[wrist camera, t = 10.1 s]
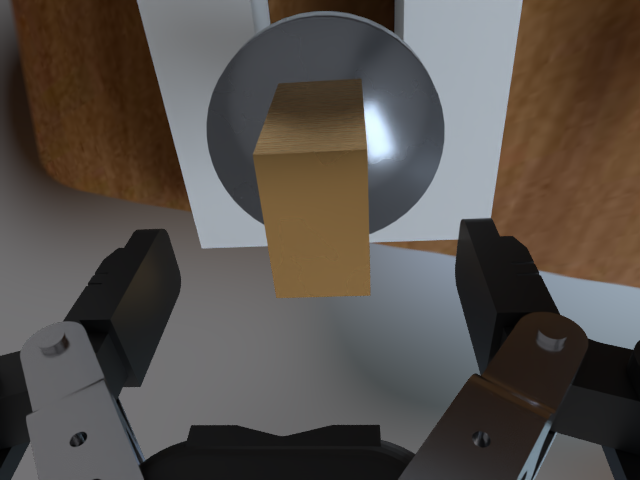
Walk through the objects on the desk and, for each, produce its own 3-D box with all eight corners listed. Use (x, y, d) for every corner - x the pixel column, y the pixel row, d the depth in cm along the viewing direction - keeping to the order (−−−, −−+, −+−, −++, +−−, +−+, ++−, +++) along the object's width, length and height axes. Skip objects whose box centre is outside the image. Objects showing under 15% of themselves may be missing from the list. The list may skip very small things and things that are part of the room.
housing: (133, -180, 26) (85, -197, 21) (517, -220, 25) (559, -249, 20) (219, 205, 40) (201, 248, 35) (469, 194, 38) (487, 238, 34)
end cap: (220, -4, 22) (113, 82, 12) (427, -20, 21) (501, 57, 11) (251, 179, 27) (196, 345, 17) (419, 171, 26) (464, 340, 16)
